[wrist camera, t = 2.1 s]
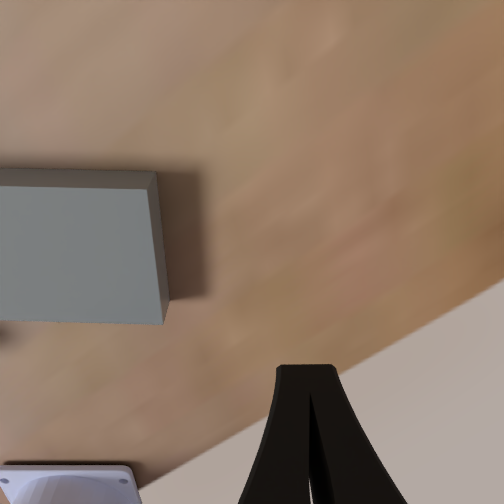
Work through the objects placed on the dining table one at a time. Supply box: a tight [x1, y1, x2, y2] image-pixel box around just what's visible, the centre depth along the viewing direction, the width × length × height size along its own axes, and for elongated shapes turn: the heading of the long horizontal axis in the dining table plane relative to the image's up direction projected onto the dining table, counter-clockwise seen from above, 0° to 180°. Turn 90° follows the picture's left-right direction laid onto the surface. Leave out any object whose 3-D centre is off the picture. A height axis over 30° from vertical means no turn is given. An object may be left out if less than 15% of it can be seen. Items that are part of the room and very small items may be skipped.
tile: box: [0, 168, 170, 325], centre depth 18 cm, size 6×10×2 cm, turn 89°
